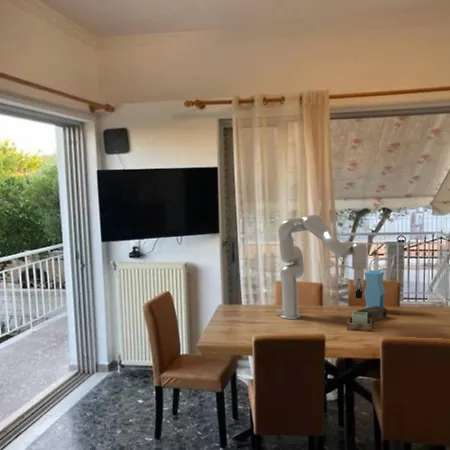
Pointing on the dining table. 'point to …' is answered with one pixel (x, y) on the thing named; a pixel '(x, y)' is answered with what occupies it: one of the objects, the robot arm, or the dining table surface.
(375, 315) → the beverage carton
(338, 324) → the dining table surface
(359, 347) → the dining table surface
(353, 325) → the walnut crate
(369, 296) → the vase
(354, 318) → the small crate
